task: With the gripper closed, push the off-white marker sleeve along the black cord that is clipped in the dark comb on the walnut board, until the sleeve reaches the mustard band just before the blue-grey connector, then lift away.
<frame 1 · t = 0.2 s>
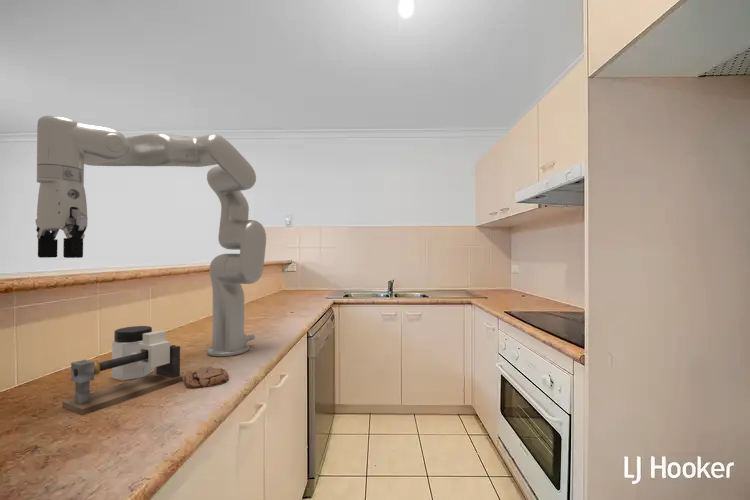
hand: (60, 257, 75), 31 cm above the countertop, tool pointing down, fingers open, 9 cm apart
sleeve: (154, 348, 86), point 9 cm above the countertop, slide at 0.0 cm
cookie: (206, 383, 88), on the countertop
comb rig: (128, 392, 81), on the countertop
jar: (133, 375, 92), on the countertop
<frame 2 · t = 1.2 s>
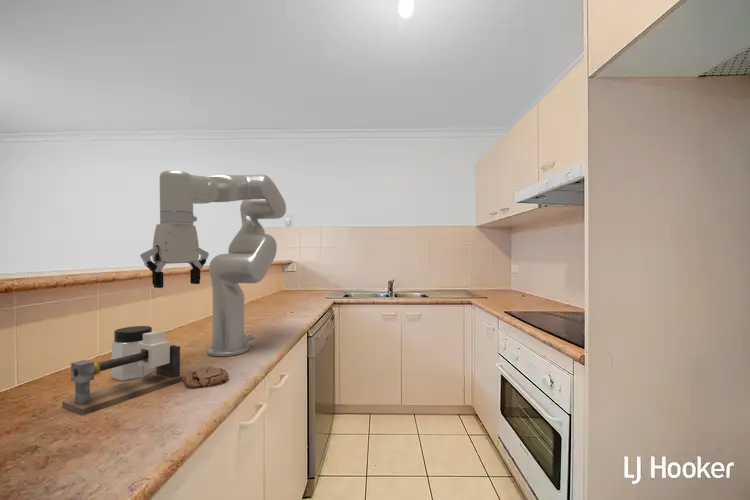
hand: (177, 285, 92), 23 cm above the countertop, tool pointing down, fingers open, 9 cm apart
nothing on the countertop moved.
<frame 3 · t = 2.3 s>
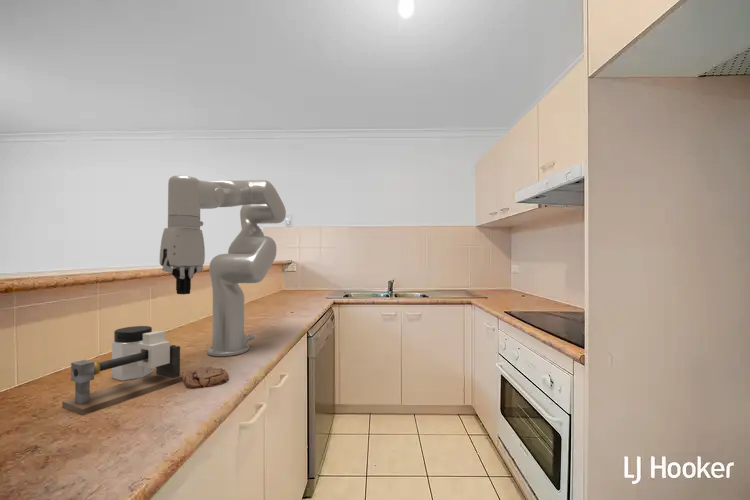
hand: (183, 293, 93), 21 cm above the countertop, tool pointing down, fingers closed
nothing on the countertop moved.
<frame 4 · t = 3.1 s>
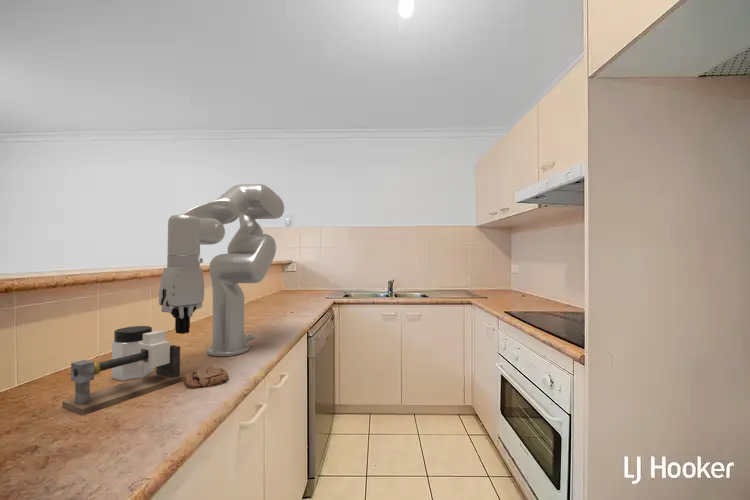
hand: (182, 332, 92), 11 cm above the countertop, tool pointing down, fingers closed
nothing on the countertop moved.
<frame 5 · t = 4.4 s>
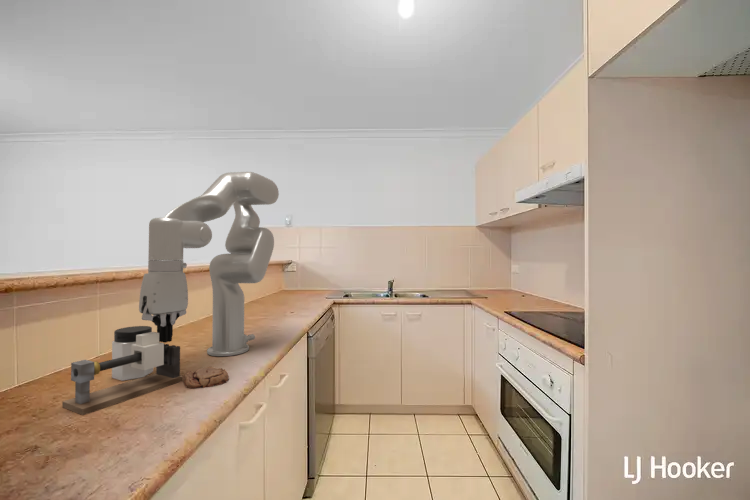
hand: (164, 341, 88), 10 cm above the countertop, tool pointing down, fingers closed
sleeve: (147, 349, 84), point 9 cm above the countertop, slide at 1.5 cm, touching gripper
everything else where it was.
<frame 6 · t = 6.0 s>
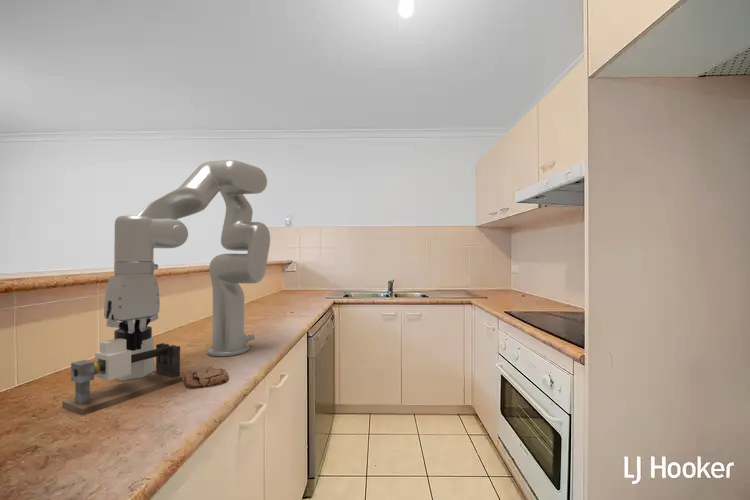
hand: (133, 349, 82), 10 cm above the countertop, tool pointing down, fingers closed
sleeve: (113, 358, 78), point 9 cm above the countertop, slide at 8.9 cm, touching gripper
everything else where it was.
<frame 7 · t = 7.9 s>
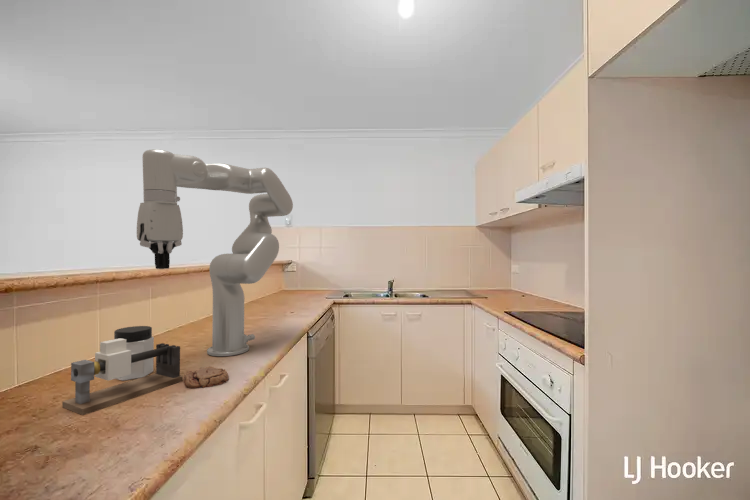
hand: (162, 268, 93), 28 cm above the countertop, tool pointing down, fingers closed
sleeve: (113, 358, 78), point 9 cm above the countertop, slide at 8.9 cm
everything else where it was.
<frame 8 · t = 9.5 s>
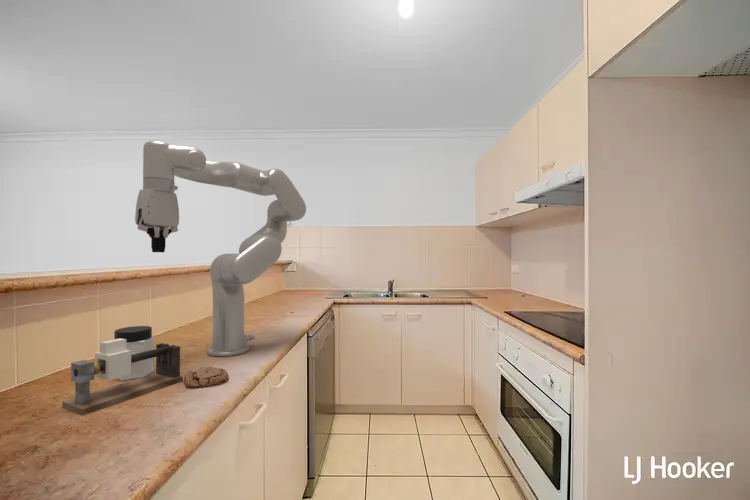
hand: (158, 252, 99), 32 cm above the countertop, tool pointing down, fingers closed
nothing on the countertop moved.
at the end: sleeve slide at 8.9 cm; sleeve touching nothing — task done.
